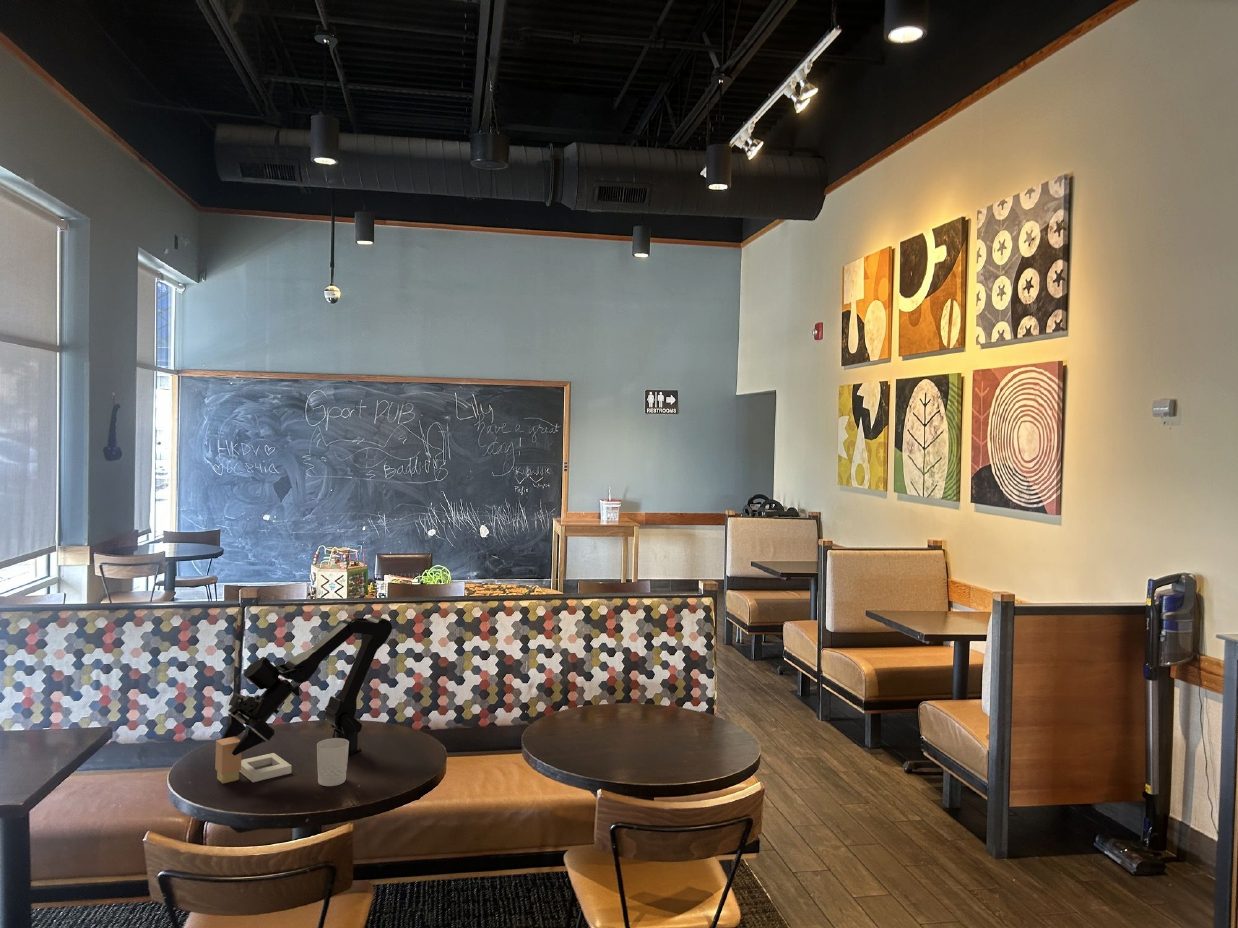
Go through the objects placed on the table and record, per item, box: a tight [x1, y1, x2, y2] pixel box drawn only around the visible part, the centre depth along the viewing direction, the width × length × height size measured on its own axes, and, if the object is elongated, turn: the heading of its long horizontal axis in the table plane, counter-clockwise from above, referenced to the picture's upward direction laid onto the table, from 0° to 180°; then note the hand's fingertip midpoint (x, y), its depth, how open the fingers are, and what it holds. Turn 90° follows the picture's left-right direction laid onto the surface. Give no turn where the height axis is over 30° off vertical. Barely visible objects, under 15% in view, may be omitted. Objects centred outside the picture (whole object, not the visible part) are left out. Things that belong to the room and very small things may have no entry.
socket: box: [239, 752, 292, 783], centre depth 225 cm, size 10×12×2 cm
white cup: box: [316, 737, 349, 787], centre depth 220 cm, size 8×8×10 cm
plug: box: [214, 736, 243, 784], centre depth 219 cm, size 5×5×10 cm
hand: (226, 749), depth 218 cm, fingers open, 9 cm apart
